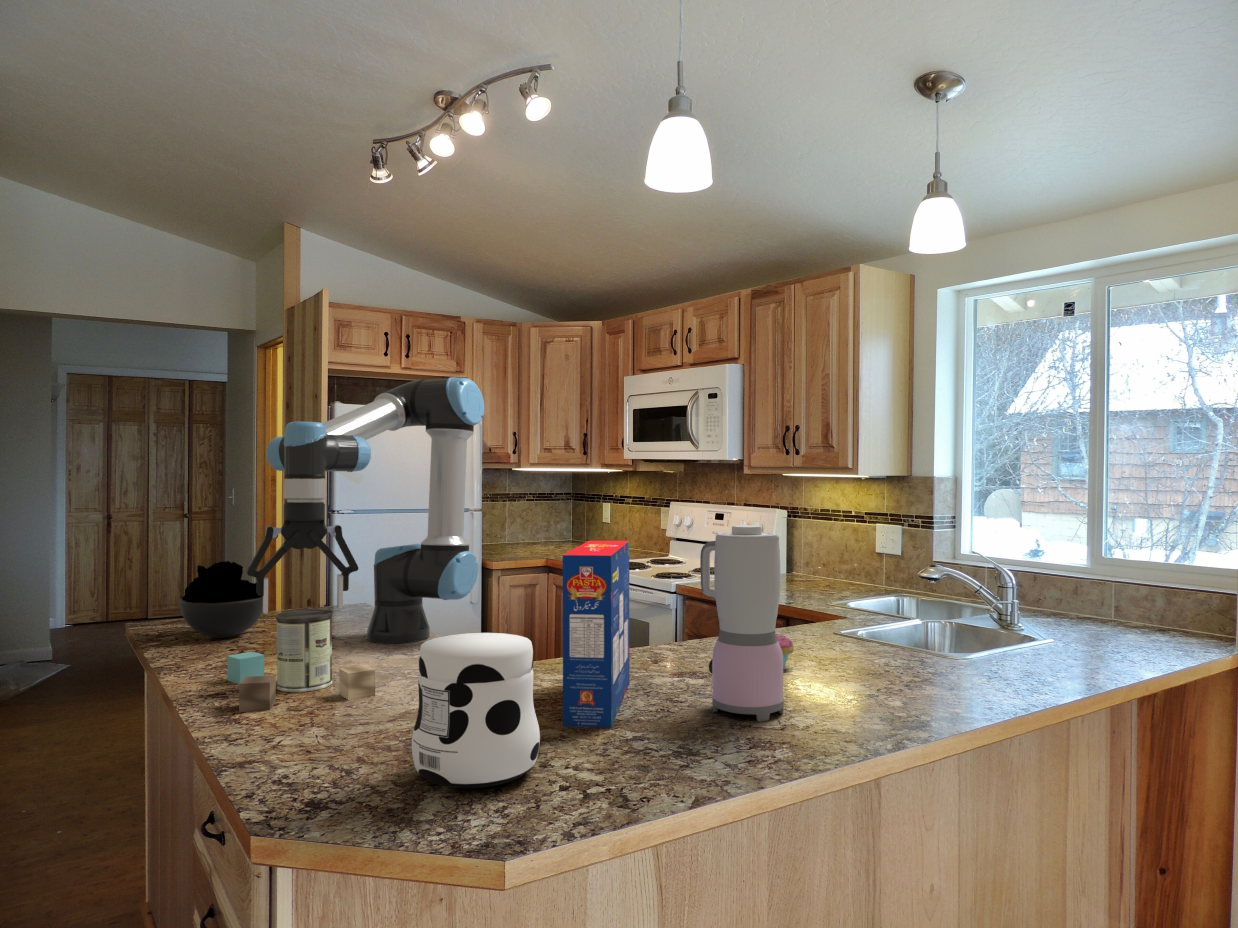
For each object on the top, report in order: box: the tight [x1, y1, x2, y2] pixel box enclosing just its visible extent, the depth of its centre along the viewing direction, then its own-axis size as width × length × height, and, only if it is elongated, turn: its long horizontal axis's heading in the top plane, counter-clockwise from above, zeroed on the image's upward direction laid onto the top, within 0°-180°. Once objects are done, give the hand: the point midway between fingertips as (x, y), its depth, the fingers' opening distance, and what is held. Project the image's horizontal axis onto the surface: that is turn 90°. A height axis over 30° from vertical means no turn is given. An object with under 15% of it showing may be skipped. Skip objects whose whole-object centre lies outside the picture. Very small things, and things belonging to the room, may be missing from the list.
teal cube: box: [226, 651, 265, 685], centre depth 165 cm, size 5×5×5 cm
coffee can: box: [275, 608, 333, 693], centre depth 161 cm, size 10×10×14 cm
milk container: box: [411, 632, 541, 789], centre depth 113 cm, size 17×17×18 cm
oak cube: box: [338, 664, 376, 701], centre depth 154 cm, size 5×5×5 cm
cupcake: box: [775, 633, 795, 670], centre depth 174 cm, size 9×8×12 cm
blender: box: [699, 524, 785, 722], centre depth 144 cm, size 16×12×32 cm
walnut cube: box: [238, 674, 277, 713], centre depth 146 cm, size 5×5×5 cm
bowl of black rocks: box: [178, 560, 264, 639], centre depth 208 cm, size 20×20×19 cm
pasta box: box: [562, 540, 631, 729], centre depth 148 cm, size 28×8×28 cm, turn 173°
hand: (303, 610), depth 160 cm, fingers open, 13 cm apart
